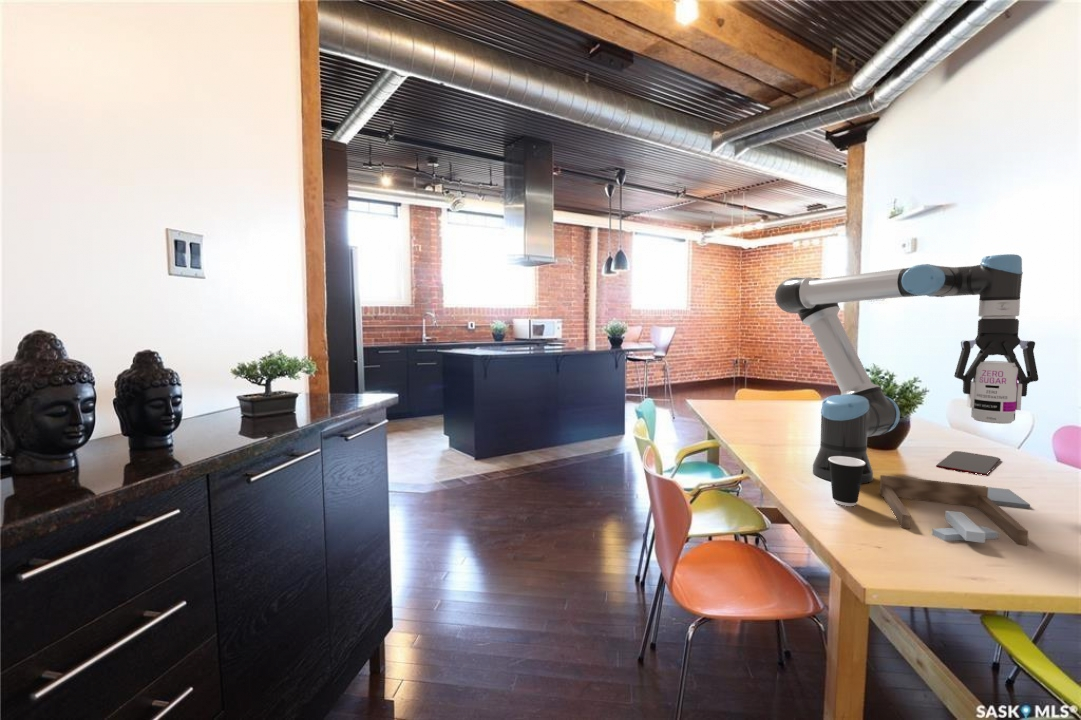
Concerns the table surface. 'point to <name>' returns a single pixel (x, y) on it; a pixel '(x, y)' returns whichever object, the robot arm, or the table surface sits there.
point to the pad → (1006, 498)
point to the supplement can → (995, 392)
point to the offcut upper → (965, 526)
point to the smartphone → (969, 462)
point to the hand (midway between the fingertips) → (993, 407)
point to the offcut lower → (952, 534)
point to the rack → (947, 501)
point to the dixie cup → (846, 479)
